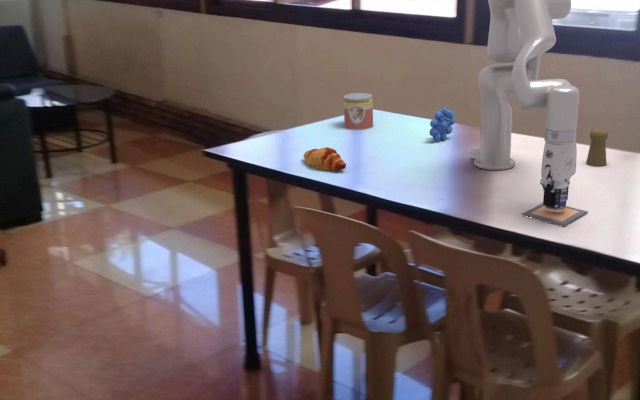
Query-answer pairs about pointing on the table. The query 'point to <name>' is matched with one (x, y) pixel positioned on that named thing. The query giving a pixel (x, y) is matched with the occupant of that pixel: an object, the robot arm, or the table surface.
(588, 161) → the cork
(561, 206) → the pill bottle
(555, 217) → the coaster
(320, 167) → the croissant
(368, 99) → the canned food
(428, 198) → the table surface
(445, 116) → the grapes
